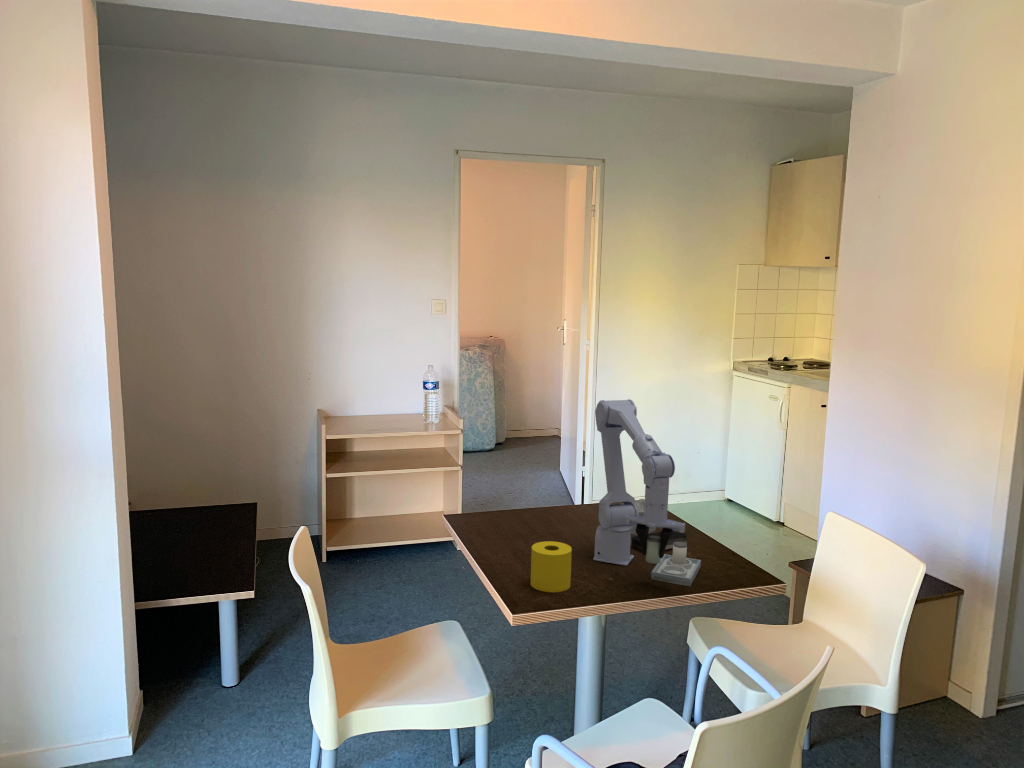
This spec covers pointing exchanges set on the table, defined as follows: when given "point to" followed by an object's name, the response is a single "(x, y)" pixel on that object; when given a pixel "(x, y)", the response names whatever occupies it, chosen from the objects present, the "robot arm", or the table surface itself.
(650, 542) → the pale green lidded jar
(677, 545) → the jaw peg ivory
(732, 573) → the table surface
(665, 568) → the tray
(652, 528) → the lumpy-topped squat cylinder
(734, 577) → the table surface
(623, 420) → the robot arm
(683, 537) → the black sponge
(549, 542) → the yellow cylinder with hole
